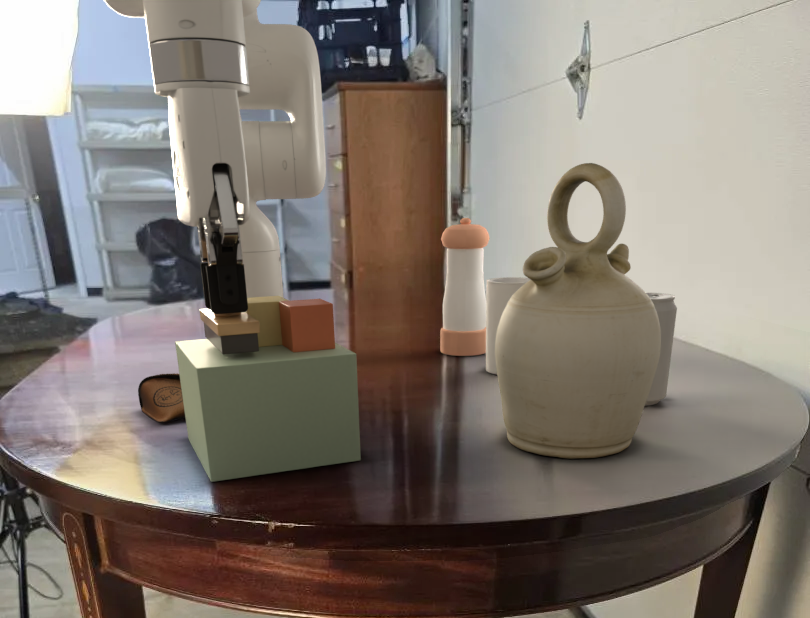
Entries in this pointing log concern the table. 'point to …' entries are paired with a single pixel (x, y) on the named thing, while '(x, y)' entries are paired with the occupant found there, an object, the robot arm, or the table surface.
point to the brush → (231, 331)
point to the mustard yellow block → (267, 319)
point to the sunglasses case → (162, 397)
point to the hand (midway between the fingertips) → (226, 308)
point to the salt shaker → (464, 290)
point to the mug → (497, 311)
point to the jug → (577, 336)
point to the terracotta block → (307, 325)
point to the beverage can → (663, 344)
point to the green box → (269, 408)
